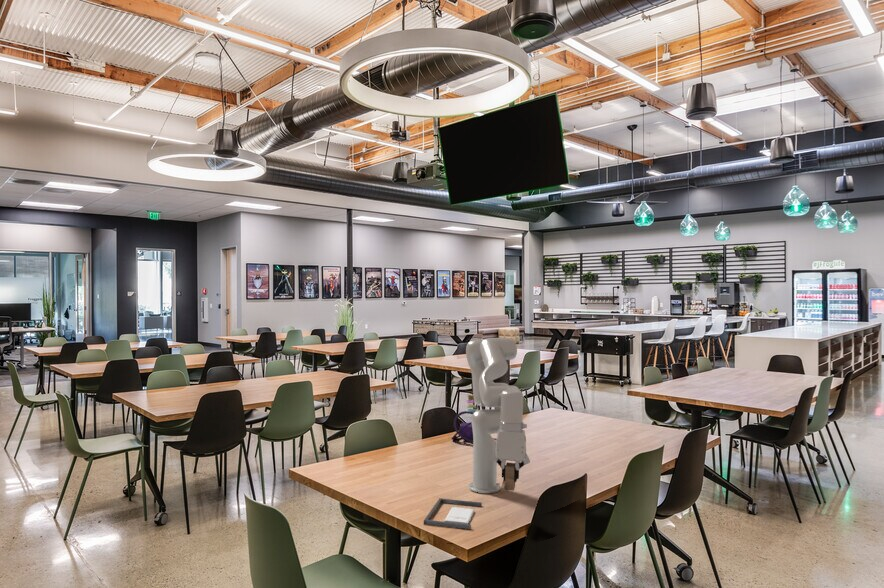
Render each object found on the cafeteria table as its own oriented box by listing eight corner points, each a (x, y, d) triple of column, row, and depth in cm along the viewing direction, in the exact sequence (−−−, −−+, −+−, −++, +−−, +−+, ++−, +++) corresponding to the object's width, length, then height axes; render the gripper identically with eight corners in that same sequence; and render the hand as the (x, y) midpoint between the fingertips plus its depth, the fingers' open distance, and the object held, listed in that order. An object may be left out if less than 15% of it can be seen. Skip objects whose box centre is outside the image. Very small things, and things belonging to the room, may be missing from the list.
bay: (439, 501, 203) (439, 498, 203) (481, 505, 199) (481, 502, 199) (423, 524, 182) (423, 520, 182) (470, 529, 178) (470, 525, 178)
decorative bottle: (462, 434, 310) (462, 390, 311) (496, 438, 300) (496, 393, 301) (443, 442, 291) (444, 395, 291) (479, 447, 281) (480, 399, 281)
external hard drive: (474, 513, 193) (467, 527, 181) (451, 511, 195) (443, 524, 183) (474, 509, 193) (467, 522, 181) (451, 506, 195) (444, 519, 183)
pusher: (504, 480, 191) (505, 458, 190) (516, 481, 190) (516, 459, 189) (500, 493, 180) (501, 470, 180) (512, 495, 179) (513, 471, 179)
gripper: (536, 425, 186) (535, 479, 186) (489, 422, 190) (488, 474, 190) (534, 431, 179) (533, 486, 179) (485, 427, 183) (484, 481, 183)
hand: (510, 479), depth 185 cm, fingers closed on pusher, 3 cm apart
